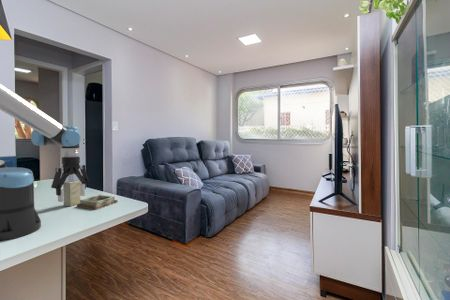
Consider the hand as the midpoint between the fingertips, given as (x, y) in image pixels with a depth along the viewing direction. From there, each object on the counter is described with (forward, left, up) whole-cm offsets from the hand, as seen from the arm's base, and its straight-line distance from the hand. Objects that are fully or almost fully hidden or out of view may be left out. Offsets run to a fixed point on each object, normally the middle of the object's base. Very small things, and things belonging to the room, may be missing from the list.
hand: (72, 198), depth 113 cm
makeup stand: (+5, -12, -3) cm, 13 cm away
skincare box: (0, 0, -3) cm, 3 cm away
